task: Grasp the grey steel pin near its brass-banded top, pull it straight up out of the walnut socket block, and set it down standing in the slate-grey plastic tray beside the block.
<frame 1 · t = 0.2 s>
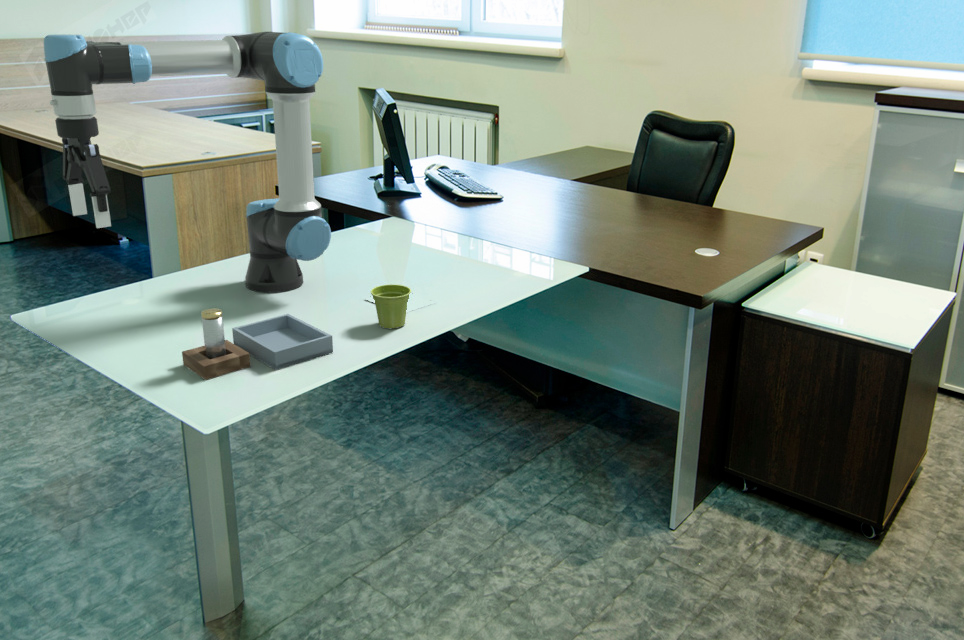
hand: (91, 220, 170), 28 cm above the table, fingers open, 13 cm apart
socket block: (217, 365, 170), on the table
pin: (214, 339, 168), in the socket block
tray: (283, 348, 180), on the table
plant pot: (391, 325, 195), on the table
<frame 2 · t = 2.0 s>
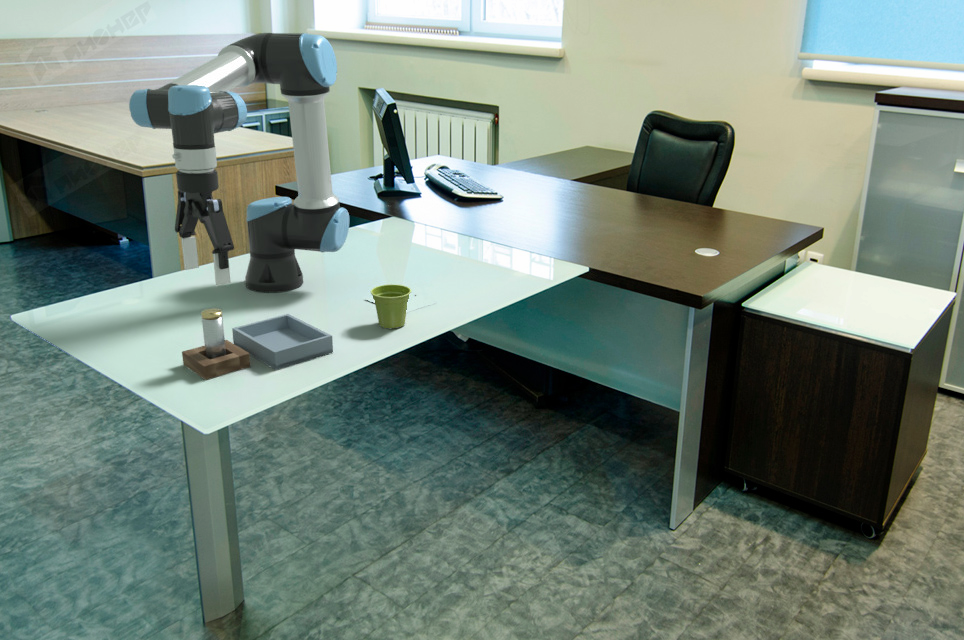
hand: (207, 276, 163), 20 cm above the table, fingers open, 13 cm apart
nothing on the table moved.
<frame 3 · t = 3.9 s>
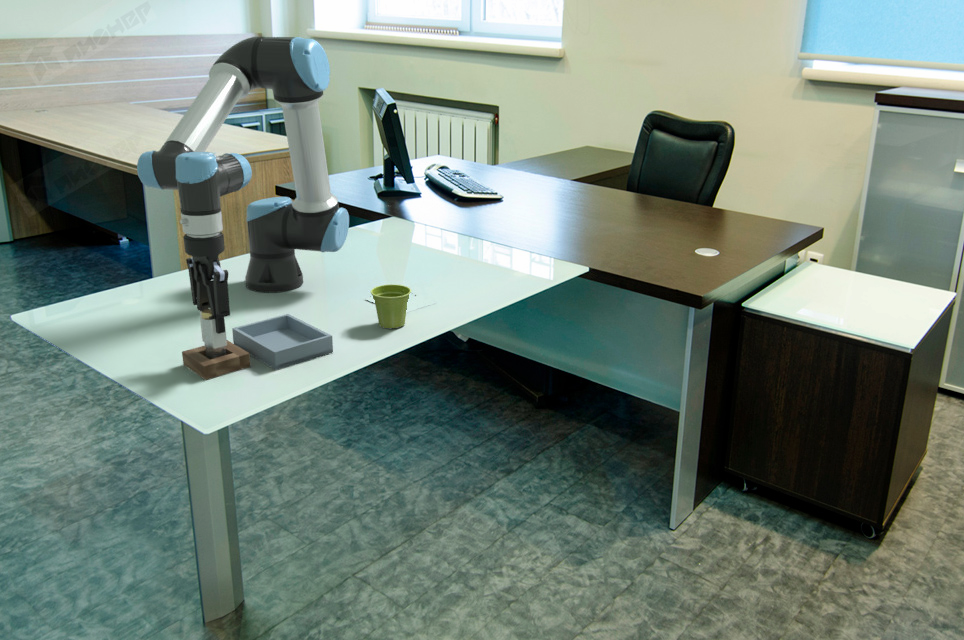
hand: (214, 342, 169), 5 cm above the table, fingers closed on pin, 4 cm apart
pin: (214, 339, 168), in the socket block, touching gripper
everything else where it was.
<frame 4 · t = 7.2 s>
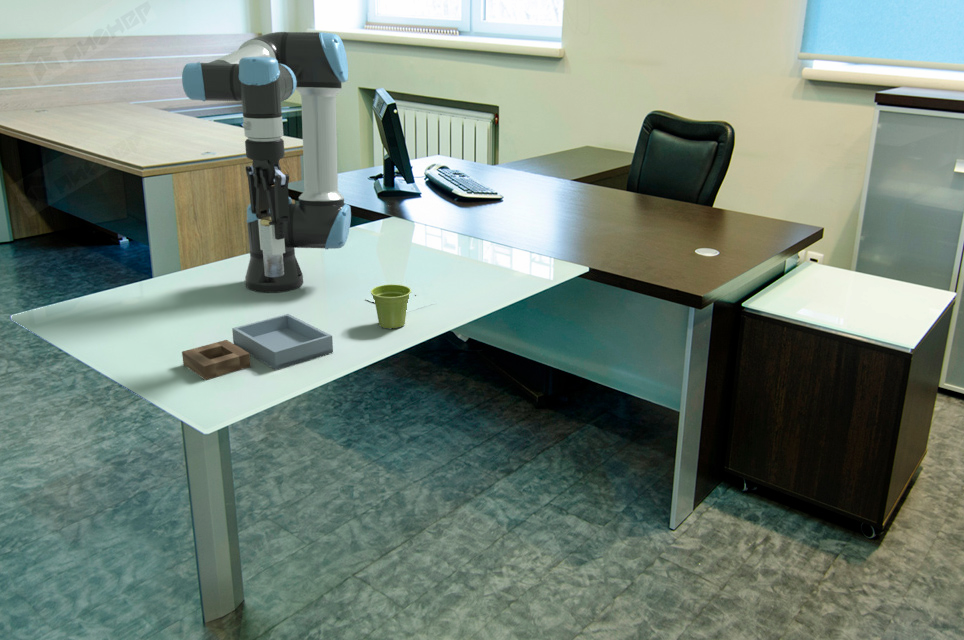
hand: (272, 250, 171), 22 cm above the table, fingers closed on pin, 4 cm apart
pin: (272, 247, 171), point 23 cm above the table, touching gripper
everything else where it was.
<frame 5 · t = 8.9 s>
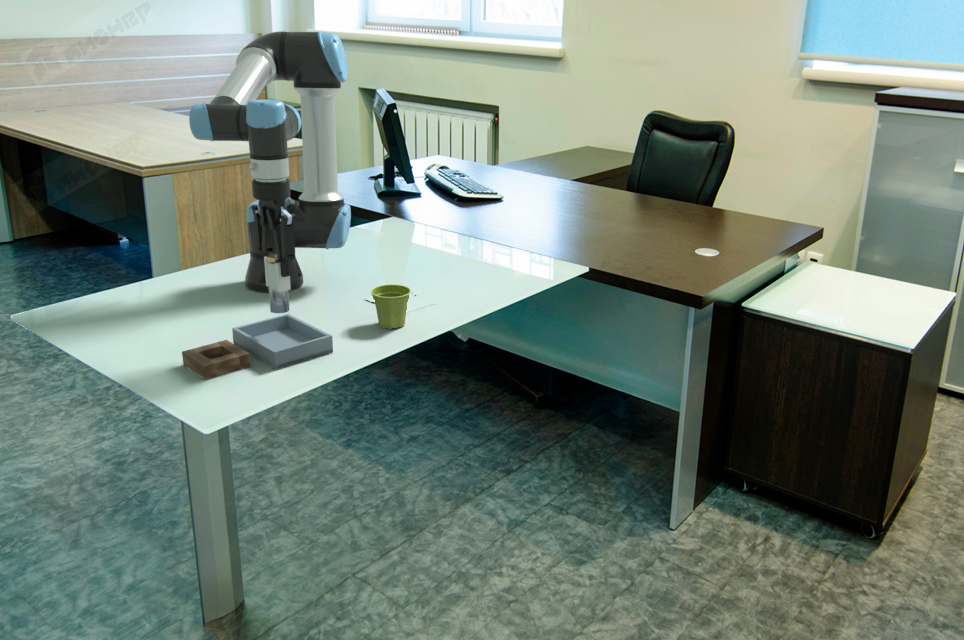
hand: (278, 287, 174), 14 cm above the table, fingers closed on pin, 4 cm apart
pin: (278, 283, 174), point 15 cm above the table, touching gripper
everything else where it was.
when the fingers open (8 cm above the table, at t = 10.4 s): pin drops 1 cm, resting on tray.
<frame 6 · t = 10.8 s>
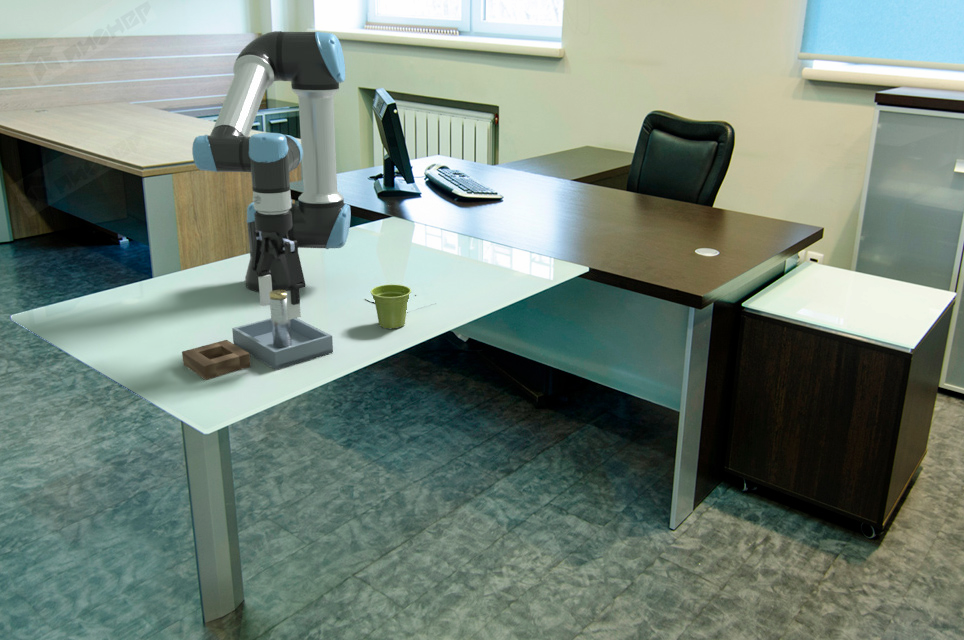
hand: (280, 310, 176), 9 cm above the table, fingers open, 10 cm apart
pin: (280, 318, 177), in the tray, point 7 cm above the table
everything else where it was.
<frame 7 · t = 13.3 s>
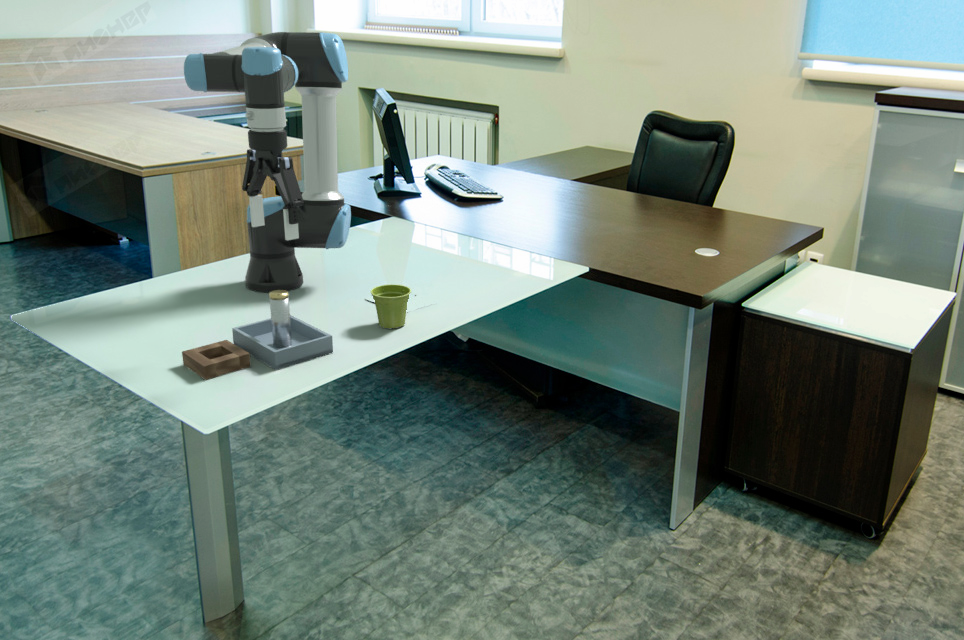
hand: (274, 232, 170), 26 cm above the table, fingers open, 13 cm apart
nothing on the table moved.
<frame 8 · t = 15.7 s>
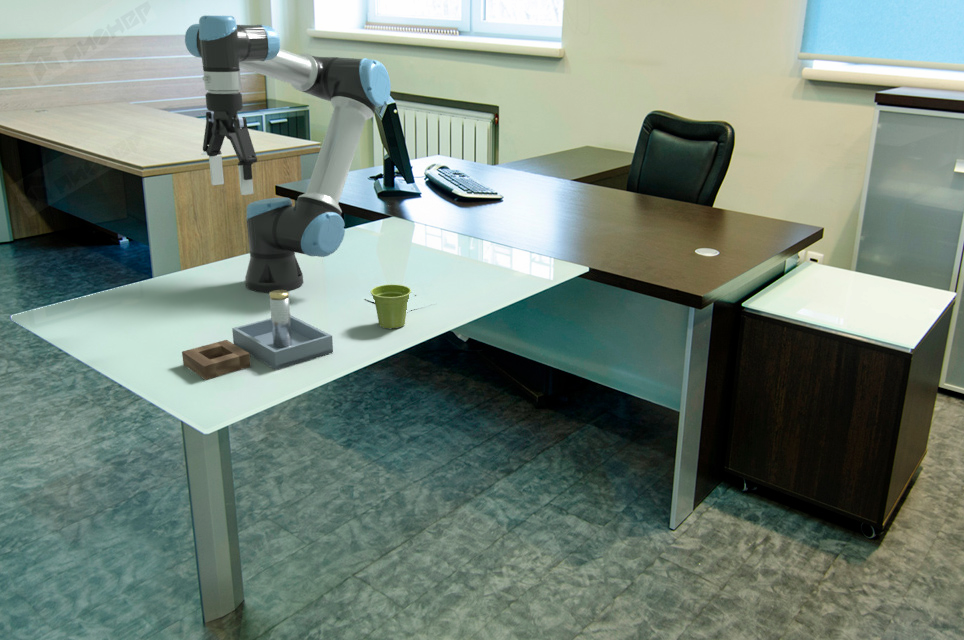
hand: (232, 189, 184), 32 cm above the table, fingers open, 13 cm apart
nothing on the table moved.
at the end: pin inside the target area on the tray (0.0 cm from its centre), point 7.0 cm above the tray's base; pin moved 15.1 cm from its start; the gripper is holding nothing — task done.
